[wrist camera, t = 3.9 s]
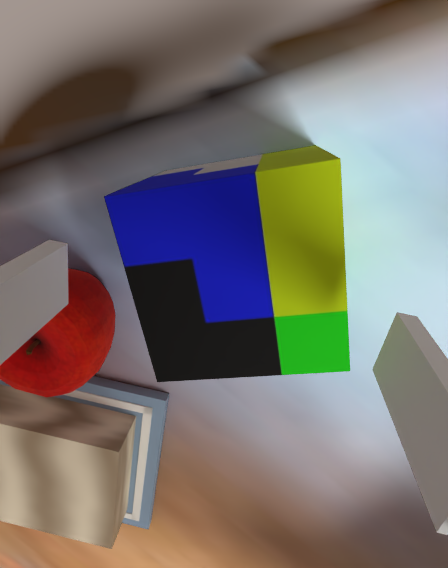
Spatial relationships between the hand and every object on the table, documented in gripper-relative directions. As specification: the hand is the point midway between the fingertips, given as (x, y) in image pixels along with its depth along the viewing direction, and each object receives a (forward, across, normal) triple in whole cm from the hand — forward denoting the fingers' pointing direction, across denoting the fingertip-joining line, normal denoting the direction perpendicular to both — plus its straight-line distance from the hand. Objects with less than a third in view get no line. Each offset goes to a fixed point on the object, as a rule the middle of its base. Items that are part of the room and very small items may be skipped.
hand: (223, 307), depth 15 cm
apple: (+13, +12, +9) cm, 19 cm away
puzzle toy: (+13, 0, 0) cm, 13 cm away
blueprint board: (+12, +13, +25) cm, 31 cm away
